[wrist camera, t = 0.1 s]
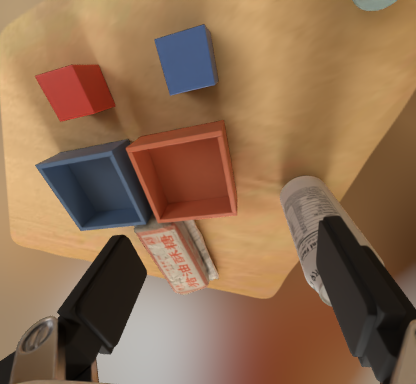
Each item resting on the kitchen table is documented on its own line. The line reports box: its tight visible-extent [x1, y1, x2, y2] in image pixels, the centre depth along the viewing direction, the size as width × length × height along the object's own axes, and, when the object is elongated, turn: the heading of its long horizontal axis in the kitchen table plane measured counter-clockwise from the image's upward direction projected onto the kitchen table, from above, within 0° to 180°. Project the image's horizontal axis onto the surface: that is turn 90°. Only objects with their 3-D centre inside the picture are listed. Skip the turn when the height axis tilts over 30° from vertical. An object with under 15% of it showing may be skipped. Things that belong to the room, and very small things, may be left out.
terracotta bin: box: [126, 120, 237, 223], centre depth 27 cm, size 11×11×4 cm
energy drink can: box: [280, 176, 385, 306], centre depth 22 cm, size 6×6×15 cm
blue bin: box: [35, 139, 153, 231], centre depth 29 cm, size 11×11×4 cm
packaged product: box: [134, 213, 219, 295], centre depth 35 cm, size 18×5×10 cm
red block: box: [35, 65, 115, 121], centre depth 23 cm, size 4×4×4 cm
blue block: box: [154, 24, 218, 95], centre depth 20 cm, size 4×4×4 cm
